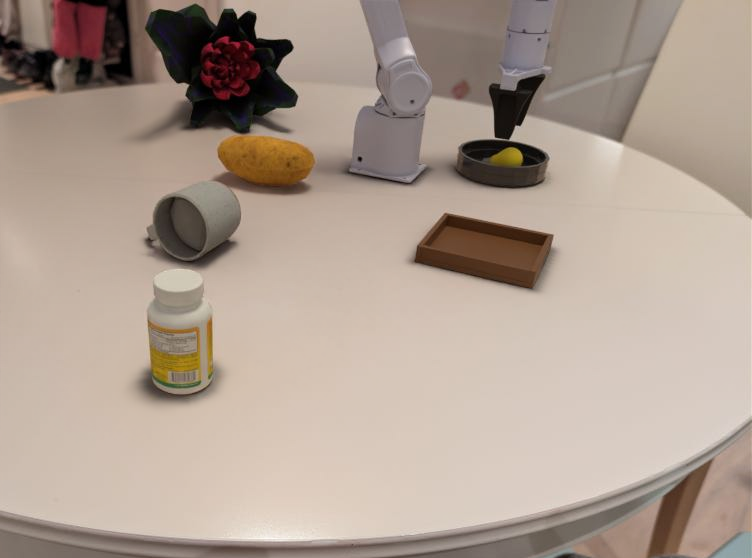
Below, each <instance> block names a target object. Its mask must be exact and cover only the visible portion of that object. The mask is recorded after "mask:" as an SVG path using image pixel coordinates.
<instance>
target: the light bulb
mask: <svg viewBox="0 0 752 558" xmlns="http://www.w3.org/2000/svg"><path fill="white" fill-rule="evenodd" d="M481 162H484V163H488V164H494V165H500V166H512V167H520V166H521V164H522V162H523V156H522V154H521V152H520V151H519V150H518V149H516V148H513V147H509V148H506V149H504V150H503V151H501V152H500V153H498V154H496V155H493V156H492V157H491V158H484V159H483V160H482V161H481Z"/></svg>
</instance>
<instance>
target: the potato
mask: <svg viewBox="0 0 752 558" xmlns="http://www.w3.org/2000/svg"><path fill="white" fill-rule="evenodd" d="M216 151H217V158H218V159H219V161H220V162H221V164H222V165H223V166H224V168H225V169H226V170H227V171H228V172H230V173H232V174H234V175H236V176H237V177H239V178H241V179H243V180H245V181H247V182H249V183H252V184H255V185H257V186H263V187H265V186H266V187H288V186H293V185H295V184H297V183H298V182H300V181H303V180H304V179H307V178H308V176H309V175H310V173H311V172H312V170H313V169H314V166H315V164H316V159H315V155H314V153H313V152H312V151H311V149H309V147H307V146H304V145H303V144H301V143H298V142H296V141H291V140H287V139H281V138H278V137H272V136H268V135H248V134H247V135H246V134H237V135H232V136H228V137H227V138H225V139H224V140H222V141H221V142H220V143H219V145H218V147H217V149H216Z"/></svg>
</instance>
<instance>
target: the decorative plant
mask: <svg viewBox="0 0 752 558" xmlns="http://www.w3.org/2000/svg"><path fill="white" fill-rule="evenodd" d="M257 19H258V17H257V13H256V12H254V11H252V10H250V9H249V10H247V11H245V12H243V13H242V14H241V15H240V16H239V17H238V15H237V12H236V11H235V10H234V8H223V9H222V12H221V13H220V16H219V19H218V21H217V24H215V23H214V22H213V21H212V20H211V18H210V16H209V15H208V12H207V11H206V9H205V8H204V7H203V6H201V5H200V4H198V3H193V4H191V5H188V6H186V7H183V8H181V9H179V10H177V11H176V10H175V11H174V10H170V9H164V8H158V9H156V10H153V11H151V12H150V13H149V16H148V18H147V21H146V24H145V27H144V30H145V31H146V33H147V35H148V37H149V38H150V40H151V41H152V43H153V44H154V45H155V46H156V48H157V49H158V51H159V52H160V55H161V57H162V60H163V64H164V67H165V69H166V71H167V73H168V75H169V77H170V78H171V79H172V80H173V81H174V82H175V83H176V84H177V85H180V84H185V85H188V87H187V88H186V91H185V98H186V99H187V100H188V101H189V102H190V103H191V106H192V107H191V112H190V116H189V126H192V127H194V128H196V129H197V128H199V126H201V125H202V124H203V123H204V122H205V121H206V120H207V118H208V117H209V116H211V114H212V113H214V112H216V111H217V112H218V113H219V114H220V115H223V116H224V117H226V118H227V119H230V120H231V121H232V122H233V124H234V126H235V127H236V129H237V130H238V131H239V132H240V133H244V132H247V131H250V129H251V127H252V123H253V117H260V118H262V117H263V116H264V117H265V115H267V114H269V113H271V112H273V111H274V110H277V109H292V108H295V107H297V103H298V99H299V94H297V92H296V90H295V89H293V87H291V86H290V85H289V84H288V83H287V82H285V81H284V79H282V76H280V75H279V74H278V72H277V71H278V69H279V67H280V65H281V63H282V61H283V60H284V59H285V58H286V57H287V56H288V55H289V54H291V53H292V52H293V50H294V48H295V47H294V44H293V42H292V40H290V39H288V38H277V39H271V38H270V39H268V38H262V37H257V33H256V24H257Z"/></svg>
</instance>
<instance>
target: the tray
mask: <svg viewBox="0 0 752 558" xmlns="http://www.w3.org/2000/svg"><path fill="white" fill-rule="evenodd" d="M554 237H555V234H553V233H547V232H542V231H537V230H533V229H529V228H523V227H519V226H513V225H509V224H503V223H498V222H494V221H489V220H483V219H479V218H475V217H474V218H473V217H469V216H464V215H460V214H459V215H458V214H454V213H449V212H444V213H443V214H442V215H441V217H439V219H438V220H437V221H436V222H435V224H434V225H432V227H431V228H430V230H429V231H428V232H427V233H426V234H425V236H424V237H423V238H422V239H421V240H420V241H419V242H418V244H416V249H415V256H414V262H416V263H420V264H424V265H428V266H434V267H437V268H442V269H446V270H451V271H455V272H459V273H464V274H467V275H471V276H476V277H481V278H485V279H489V280H493V281H497V282H503V283H507V284H510V285H515V286H519V287H524V288H529V289H533V287H534V285H535V282H536V281H537V278H538V276H539V274H540V272H541V270H542V268H543V265H544V264H545V262H546V259H547V257H548V255H549V253H550V251H551V249H552V245H553V240H554Z"/></svg>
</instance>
